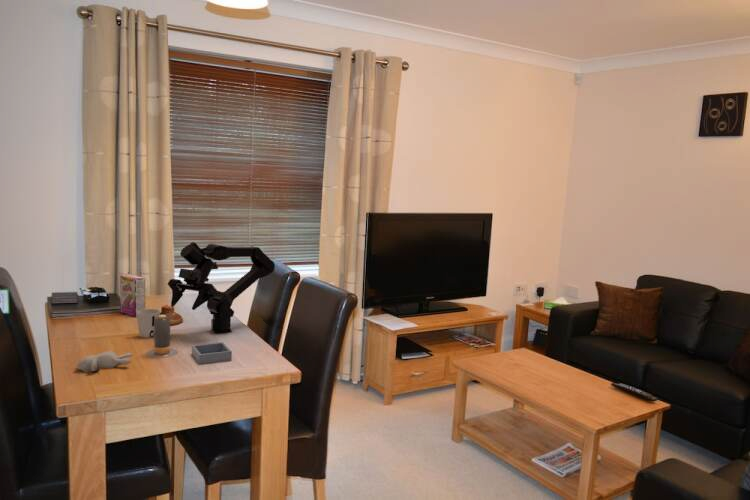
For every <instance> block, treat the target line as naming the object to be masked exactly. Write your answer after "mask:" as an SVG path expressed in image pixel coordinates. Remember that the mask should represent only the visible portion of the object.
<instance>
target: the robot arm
mask: <svg viewBox="0 0 750 500" xmlns="http://www.w3.org/2000/svg"><path fill="white" fill-rule="evenodd" d="M179 255H180V256H181V257H182V258H183V259H184V260H186V262H188V263H189V264H190V265H191V266H195V267H194V268H193V269H187V268H180V269H179V274H178V278H180V279H176V278H170V279H169V281H168V282H167V285H168V287H169V289H171V291H172V293H171V294H172V296H171V301H170V306H172V307H174V308H175V306H176V305H177V304H178V302H179V301H180V299H181V298H183V295H184V294H183V293H185V292H186V291H187V290H188V291H195V292H198V294H197V296H196V299H195V300H194V302H193V305H192V307H191V310H192V311H195V310H196V309H197V308H199V307H200V306H202V305H203V304H205V303H206V308H207V310H208V311H209V314H210V315H212V319H211V322H210V325H211V326H210V327H211V328H210V329H211V330H212V331H213V333H214V334H223V333H231V332H232V329H231V321H232V320H231V318H233V317H234V314H235V311H234V309H232V308H231V307H232V305H233V302H234V301H235V300H236V299H237V298H238V297H239V296H240V295H241V294H243V293H244V292H245V291H246V290H248V288H250V287H251V286H252V285H254V283H256V281H258V280H260V279H262V278H265V277H267V276H269V275H271V274H272V273H274V271H275V270H276V269H275V268H276V266H275V262H274V261H273V260H271V259H270V257H269V256H268V255H266V253H264V252H263V250H262V249H261V248H260V247H259V246H257V247H256V246H252V245H251V246H224V245H220V244H216V243H209V244H207V245H206V247H205V246H204V247H202V248H201V247H199V245H198V244H197V243H196V242H193V241H192V242H190V244H187V245H186V246H184V247H183V248H182V249H181V250H180V254H179ZM242 257H243V258H244V257H246V258H247V257H248V258H249V257H250V261H251V262H252V265H251V268H250V270H249V271H247V273H245V274H243V276H242V277H240V278H239V279H238V280H237V281H235V283H233V284H232V285H231V286H229V287H228V288H227V289H226V290H225V291H220V290H217V288H216V287H215V286H214V284H213V283H206V282H209V281H210V279H209V278H208V277H209V275H210V273H211V272H212V270H218V269H219V267H218V264H217V262H216V261H223V260H227V259H229V258H242ZM213 260H214V261H213ZM181 279H183V281H182V280H181ZM183 282H184V283H183Z"/></svg>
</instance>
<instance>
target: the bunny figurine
mask: <svg viewBox="0 0 750 500" xmlns="http://www.w3.org/2000/svg"><path fill="white" fill-rule="evenodd" d="M130 357H133V353H132V352H126V353H123V354H119V355H117V354H116V353H115V351H113V350H107V351H102V352H100V353H98V354H95V355H91V354H90V355H87V356H85V357H83V358H82V360H79V361H78V363H77V370H80V371H82V372H84V373H88V372H95V371H99V370H100V369H114V368H115V367H117V365H118V364H120V365H128V364H130V363H131V359H130Z"/></svg>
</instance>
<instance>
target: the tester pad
mask: <svg viewBox="0 0 750 500" xmlns="http://www.w3.org/2000/svg"><path fill="white" fill-rule="evenodd" d="M178 353H179V352H178V350H177V349H175V348H170V353H169V354H167V355H155V354H154V349H151V350H148V351H147V352H146V353H145V355H146V356H148V357H149V358H155V359H163V358H164V359H165V358H170V357H174V356H177V354H178Z"/></svg>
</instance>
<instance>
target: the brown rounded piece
mask: <svg viewBox="0 0 750 500" xmlns="http://www.w3.org/2000/svg"><path fill="white" fill-rule="evenodd" d="M160 315H166V317H170V327H173V326H178V325H180V324H182V323H183V322H184V318H183V317H182V315H181V314H179V313H177V312H175V306H174V307H172V306H171V305H169V304H163V305H161V310H160Z"/></svg>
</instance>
